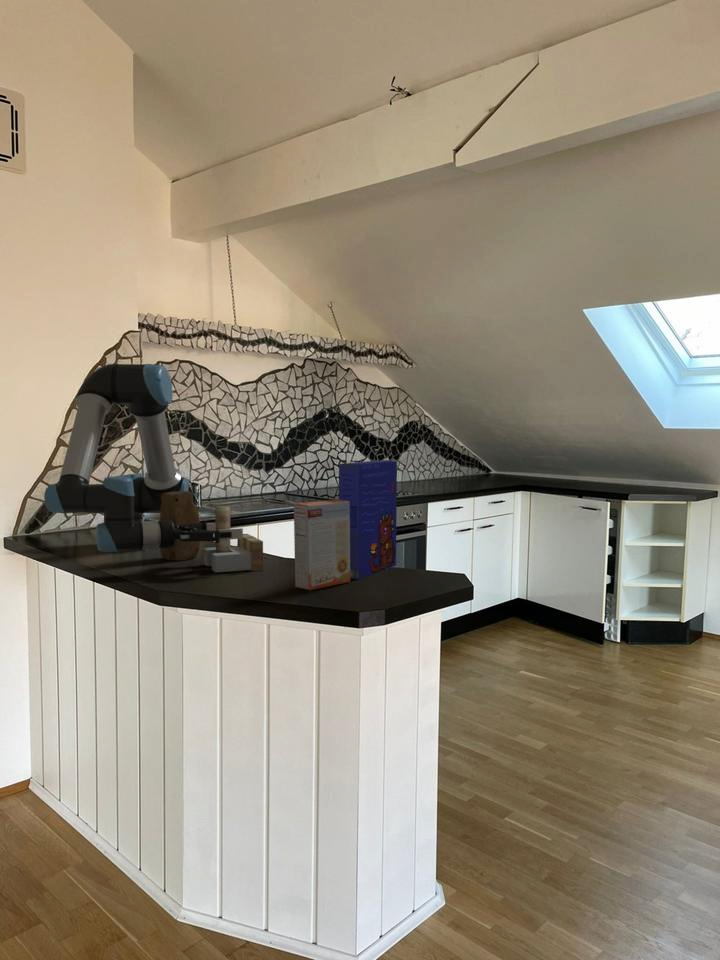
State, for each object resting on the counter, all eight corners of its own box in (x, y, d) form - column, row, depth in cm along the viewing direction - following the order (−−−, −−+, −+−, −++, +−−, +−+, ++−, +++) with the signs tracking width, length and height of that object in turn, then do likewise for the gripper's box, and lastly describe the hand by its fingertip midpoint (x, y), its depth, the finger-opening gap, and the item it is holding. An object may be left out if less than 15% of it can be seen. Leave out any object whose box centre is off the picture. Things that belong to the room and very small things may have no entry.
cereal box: (377, 563, 212) (378, 459, 210) (395, 565, 210) (396, 460, 207) (338, 577, 194) (338, 463, 191) (358, 579, 191) (359, 463, 188)
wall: (237, 561, 214) (237, 534, 214) (247, 560, 215) (247, 533, 215) (252, 571, 201) (252, 542, 200) (263, 570, 202) (263, 541, 201)
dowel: (214, 567, 206) (213, 506, 205) (228, 566, 207) (228, 506, 206) (217, 569, 202) (217, 508, 201) (232, 568, 204) (231, 507, 202)
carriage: (203, 563, 209) (203, 547, 209) (238, 561, 213) (238, 545, 213) (215, 572, 197) (215, 555, 197) (251, 569, 201) (251, 553, 201)
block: (171, 562, 212) (170, 493, 211) (157, 559, 217) (156, 491, 216) (203, 557, 220) (202, 491, 218) (189, 554, 225) (188, 489, 224)
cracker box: (335, 579, 191) (335, 498, 189) (351, 582, 187) (351, 500, 185) (293, 587, 181) (292, 502, 180) (308, 591, 177) (308, 504, 175)
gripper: (150, 541, 208) (224, 537, 217) (166, 556, 186) (248, 550, 195) (149, 515, 208) (224, 511, 216) (166, 526, 185) (248, 522, 194)
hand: (235, 530), depth 206 cm, fingers open, 13 cm apart
